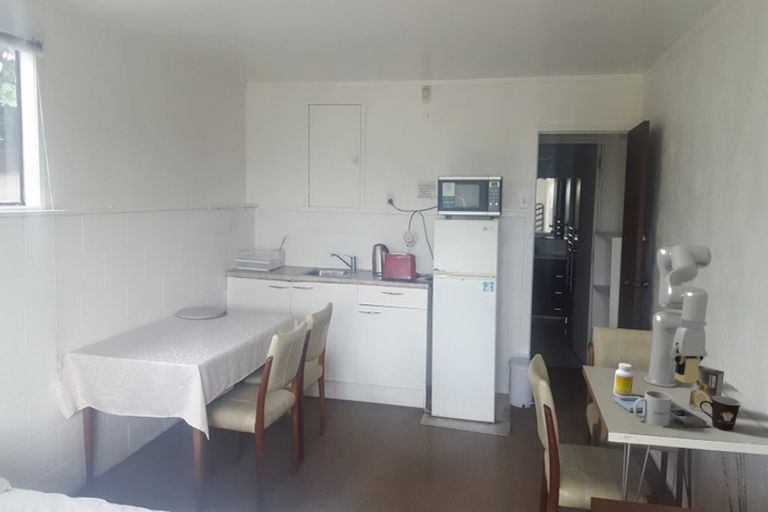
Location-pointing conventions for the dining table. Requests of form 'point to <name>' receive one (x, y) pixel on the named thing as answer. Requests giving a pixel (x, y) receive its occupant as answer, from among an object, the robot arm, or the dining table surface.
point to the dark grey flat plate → (689, 418)
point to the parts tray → (629, 403)
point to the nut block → (689, 370)
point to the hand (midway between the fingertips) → (686, 373)
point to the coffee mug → (723, 412)
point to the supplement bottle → (623, 380)
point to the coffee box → (706, 388)
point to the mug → (655, 408)
